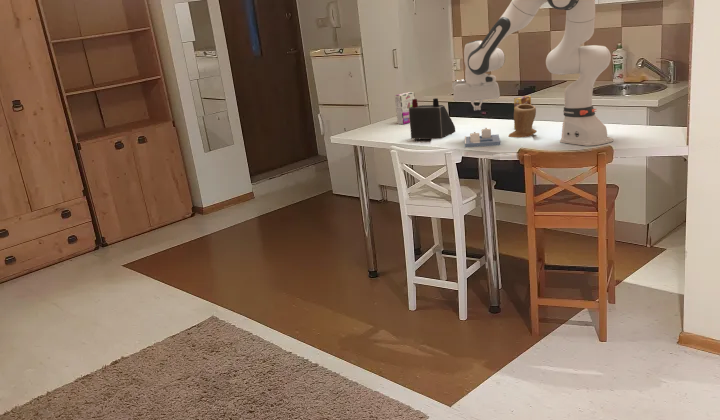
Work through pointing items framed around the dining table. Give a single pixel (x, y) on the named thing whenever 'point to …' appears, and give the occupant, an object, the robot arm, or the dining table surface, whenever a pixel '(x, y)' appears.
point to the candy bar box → (403, 107)
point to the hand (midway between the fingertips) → (477, 110)
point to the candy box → (521, 102)
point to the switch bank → (483, 141)
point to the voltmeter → (429, 121)
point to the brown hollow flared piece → (524, 120)
